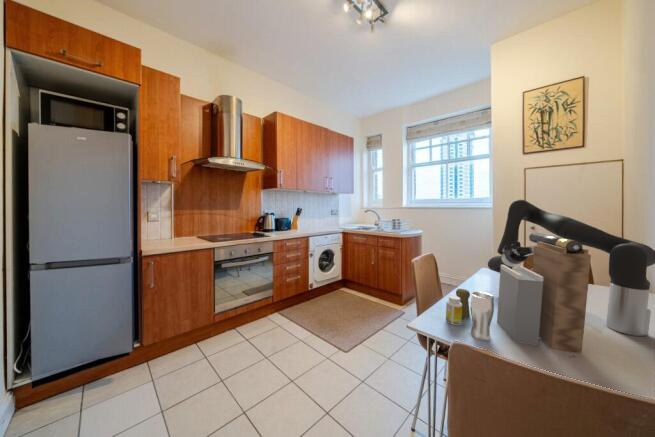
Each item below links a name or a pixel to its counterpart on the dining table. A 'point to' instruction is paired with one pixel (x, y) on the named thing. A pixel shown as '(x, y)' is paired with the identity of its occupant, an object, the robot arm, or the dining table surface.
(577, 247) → the black gold-banded rod
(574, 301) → the tall stand
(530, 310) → the grey magazine holder
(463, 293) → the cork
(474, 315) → the beer glass
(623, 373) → the dining table surface
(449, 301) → the supplement bottle
